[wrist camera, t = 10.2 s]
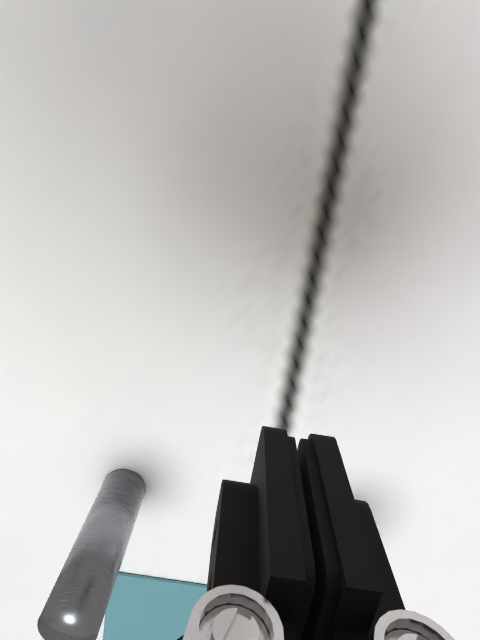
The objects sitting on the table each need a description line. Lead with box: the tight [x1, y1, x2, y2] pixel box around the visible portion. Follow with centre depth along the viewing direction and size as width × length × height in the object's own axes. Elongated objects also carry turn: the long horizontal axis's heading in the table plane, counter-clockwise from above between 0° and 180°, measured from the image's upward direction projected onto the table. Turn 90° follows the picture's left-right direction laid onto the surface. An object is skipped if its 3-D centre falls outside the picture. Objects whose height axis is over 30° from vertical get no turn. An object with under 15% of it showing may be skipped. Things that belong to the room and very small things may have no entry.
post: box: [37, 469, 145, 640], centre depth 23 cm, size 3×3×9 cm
